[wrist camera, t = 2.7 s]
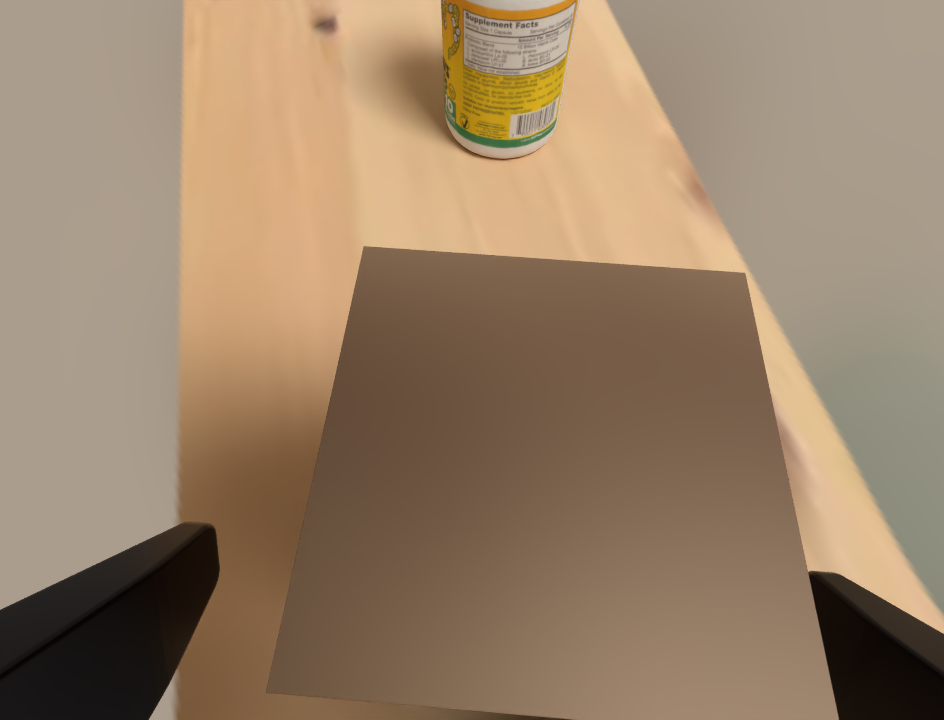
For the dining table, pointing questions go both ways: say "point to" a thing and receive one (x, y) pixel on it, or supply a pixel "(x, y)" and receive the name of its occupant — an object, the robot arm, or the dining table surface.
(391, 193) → the dining table surface
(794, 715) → the post
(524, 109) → the supplement bottle
